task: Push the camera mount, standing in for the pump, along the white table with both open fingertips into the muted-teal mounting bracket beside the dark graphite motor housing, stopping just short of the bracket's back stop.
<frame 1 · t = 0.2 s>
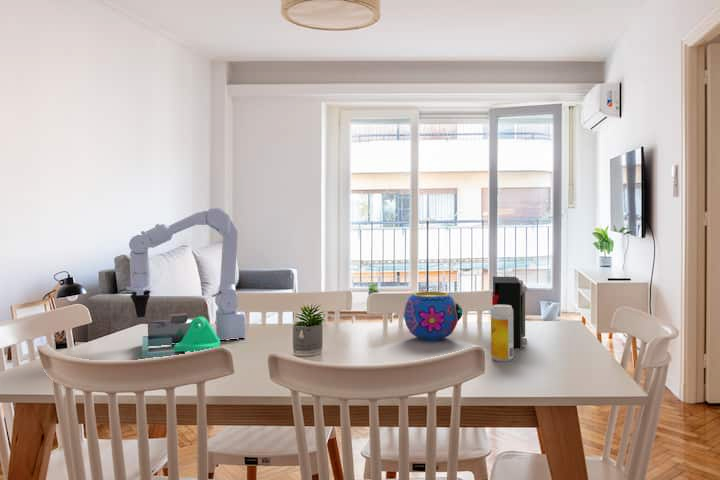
hand: (141, 315, 180), 10 cm above the table, tool pointing down, fingers open, 7 cm apart
electrical component: (508, 343, 178), on the table
beer can: (502, 359, 157), on the table
pump bracket: (162, 354, 169), on the table
motor housing: (173, 344, 183), on the table
ceramic pot: (431, 339, 184), on the table
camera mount: (197, 352, 172), on the table
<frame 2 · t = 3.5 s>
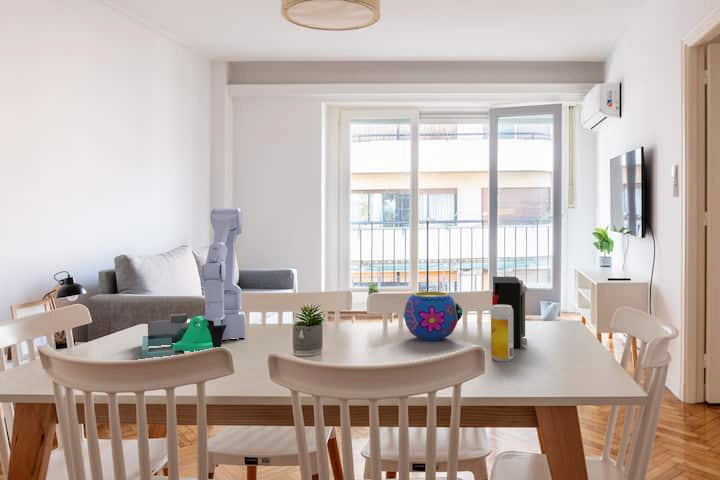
hand: (215, 345, 174), 1 cm above the table, tool pointing down, fingers open, 7 cm apart
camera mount: (196, 351, 173), on the table, touching gripper
everything else where it was.
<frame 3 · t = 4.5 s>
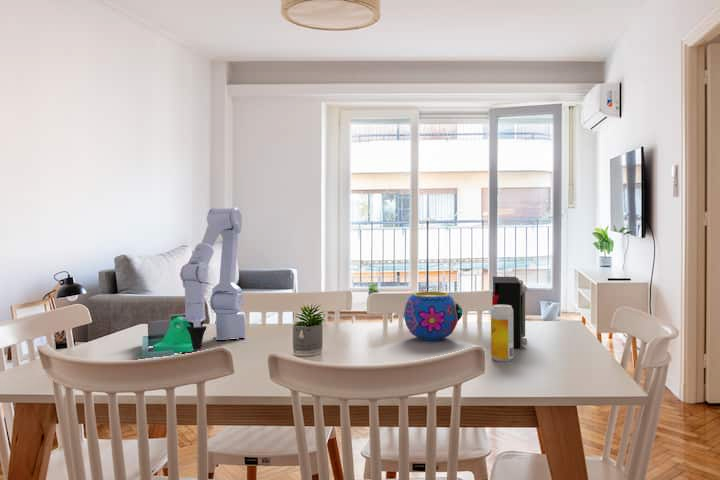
hand: (196, 346, 172), 1 cm above the table, tool pointing down
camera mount: (176, 352, 171), on the table, touching gripper
everything else where it was.
when the fingers open (1 cm above the table, at t = 6.2 s): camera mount stays where it is, on the table.
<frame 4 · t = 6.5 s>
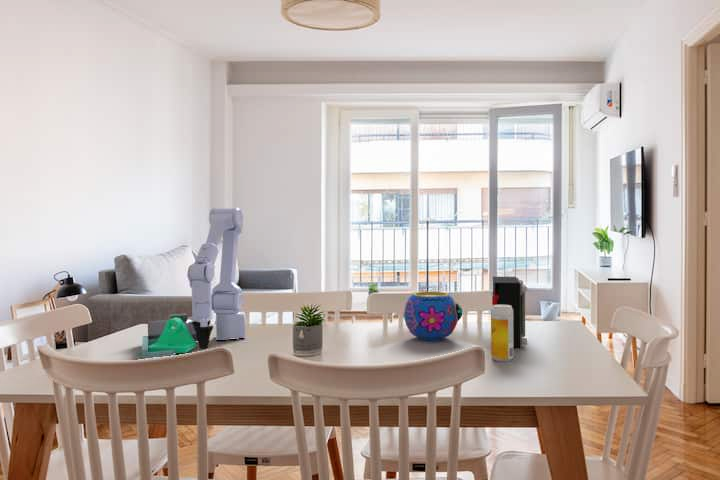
hand: (202, 346, 173), 1 cm above the table, tool pointing down, fingers open, 7 cm apart
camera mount: (171, 353, 171), on the table
everything else where it was.
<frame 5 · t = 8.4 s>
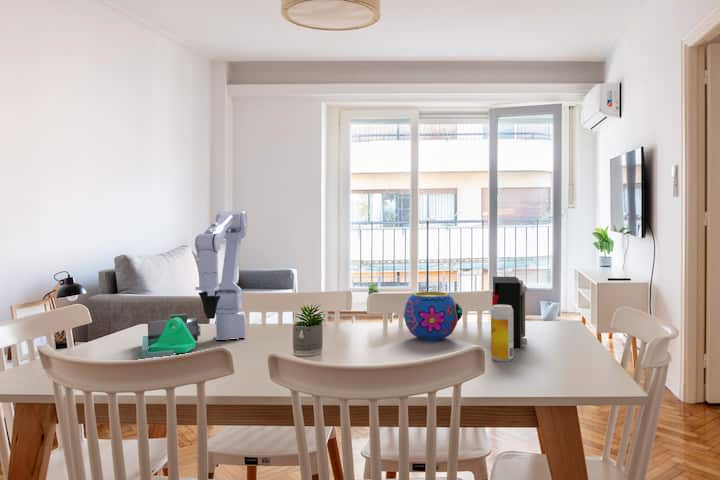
hand: (209, 316, 173), 10 cm above the table, tool pointing down, fingers open, 7 cm apart
nothing on the table moved.
at the end: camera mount inside the target area (2.3 cm from its centre), on the table; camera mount tilted 0°; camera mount moved 7.4 cm from its start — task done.
